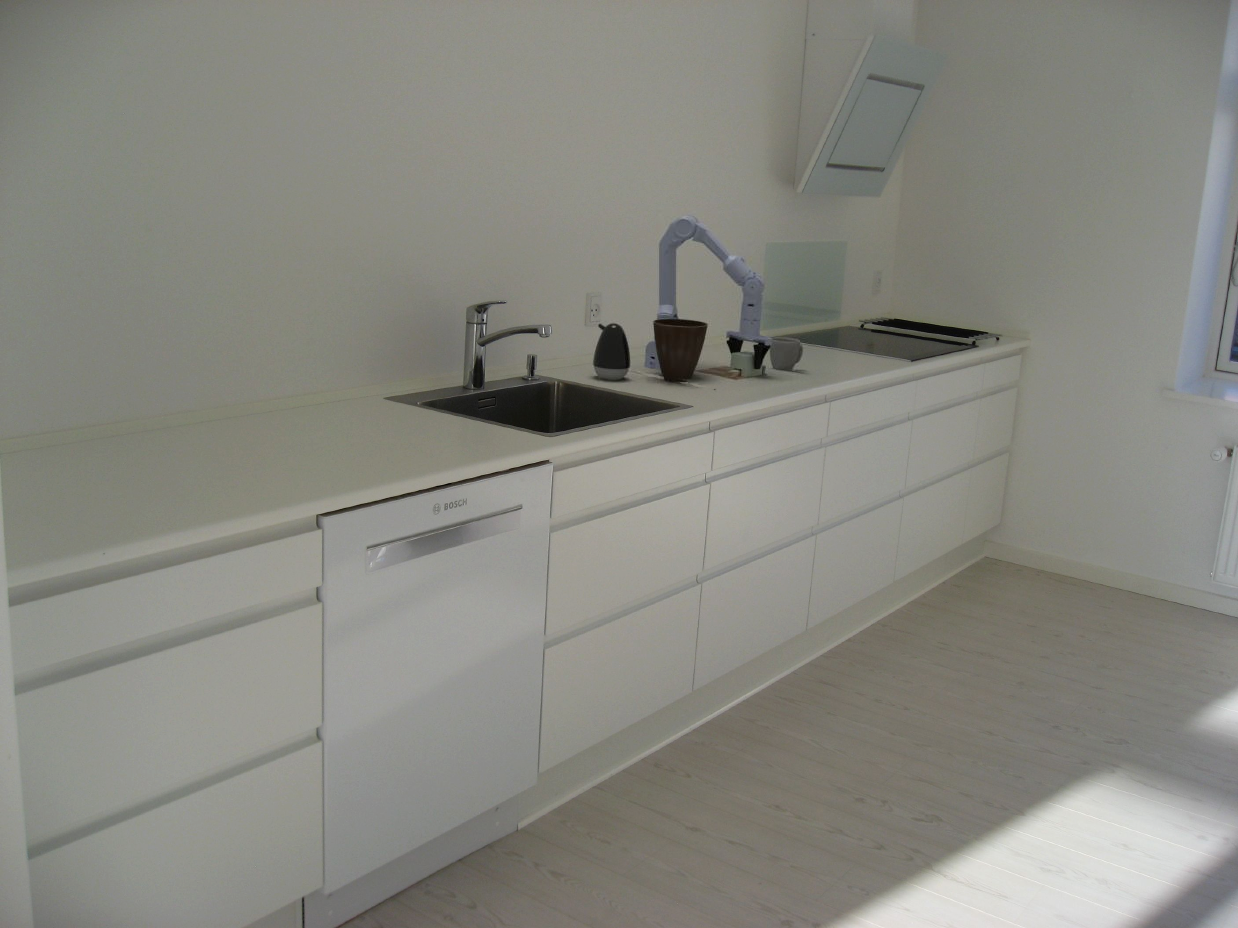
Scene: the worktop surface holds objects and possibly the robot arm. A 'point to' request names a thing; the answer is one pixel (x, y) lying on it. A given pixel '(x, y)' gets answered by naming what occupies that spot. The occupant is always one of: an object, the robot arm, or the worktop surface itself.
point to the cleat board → (721, 372)
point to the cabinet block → (745, 363)
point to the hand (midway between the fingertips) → (746, 366)
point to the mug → (785, 353)
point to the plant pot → (678, 346)
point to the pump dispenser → (612, 353)
